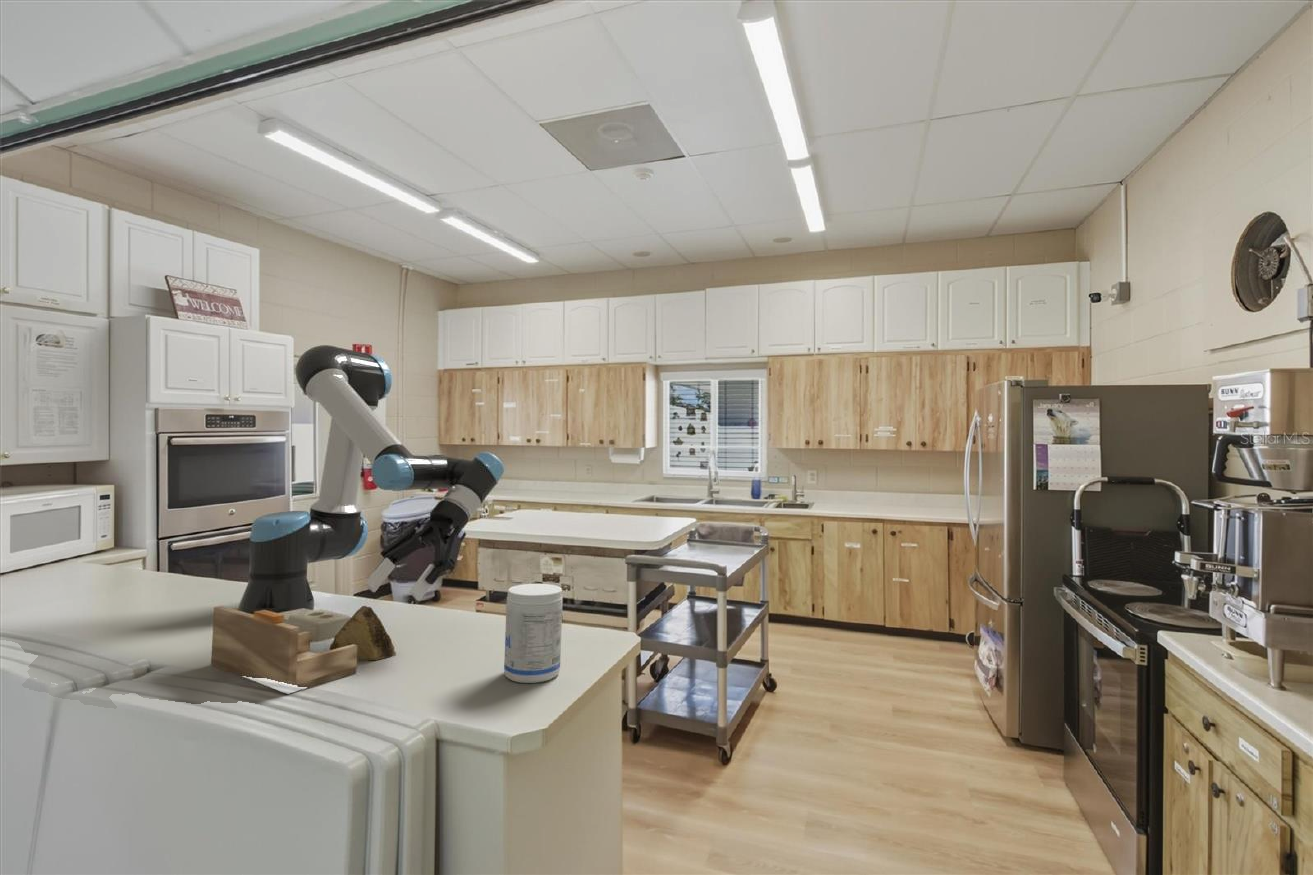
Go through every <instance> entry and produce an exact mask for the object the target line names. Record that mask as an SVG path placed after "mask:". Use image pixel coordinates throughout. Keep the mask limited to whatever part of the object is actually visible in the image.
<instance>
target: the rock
mask: <svg viewBox="0 0 1313 875" xmlns="http://www.w3.org/2000/svg"><path fill="white" fill-rule="evenodd" d="M350 617H351V618H350V620H349V621H348V622H347V623H346V624H345V625H344V626H343V627H342V629H341V630H340V631H339V632H338V634H336V635H335V637H334V638H333V641H332V643H331V645H330V646H329V651H330V650H333V649H337V648H341V647H345V646H348V645H352V644H354V645H357V661H358V660H359V661H362V660H363V661H364V660H366V661H367V660H369V661H378V660H382V659H388V658H391V657H393V656H397V653H396V650H395V646H394V644H393V641H392V638H391V636H390V635H389V634H388V633H387V631H386V628H385V626H384V625H383V623H382V621H381V619H380V618H379V617H378V615H377V614H376V613H375V611H374V610H373V608H372V607H371V606H367V605H362V606H361V607H360V608H359V609H357V610H356V612H355V613H354V614H353V615H352V616H350Z"/></svg>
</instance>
